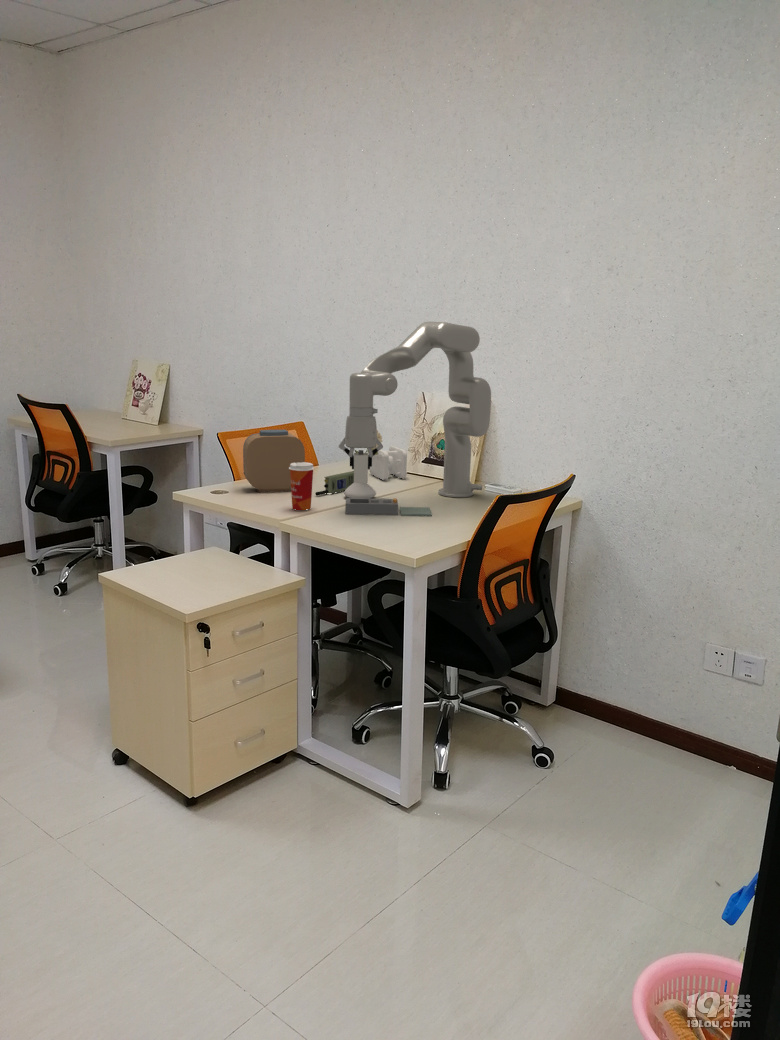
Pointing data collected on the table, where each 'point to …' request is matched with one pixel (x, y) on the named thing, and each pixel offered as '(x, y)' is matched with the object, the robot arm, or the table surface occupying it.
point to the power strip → (371, 506)
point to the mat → (415, 511)
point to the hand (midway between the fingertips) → (360, 468)
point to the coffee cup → (301, 485)
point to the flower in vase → (362, 484)
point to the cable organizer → (389, 463)
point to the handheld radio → (337, 483)
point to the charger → (360, 467)
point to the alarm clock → (271, 459)
